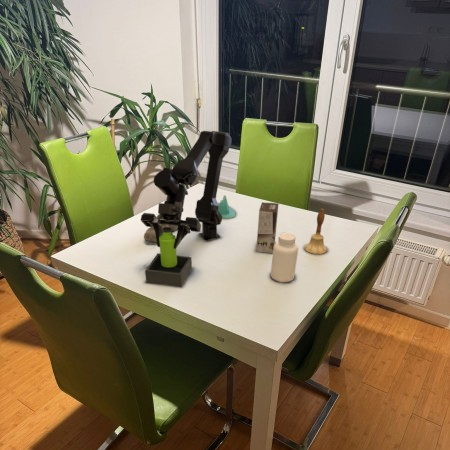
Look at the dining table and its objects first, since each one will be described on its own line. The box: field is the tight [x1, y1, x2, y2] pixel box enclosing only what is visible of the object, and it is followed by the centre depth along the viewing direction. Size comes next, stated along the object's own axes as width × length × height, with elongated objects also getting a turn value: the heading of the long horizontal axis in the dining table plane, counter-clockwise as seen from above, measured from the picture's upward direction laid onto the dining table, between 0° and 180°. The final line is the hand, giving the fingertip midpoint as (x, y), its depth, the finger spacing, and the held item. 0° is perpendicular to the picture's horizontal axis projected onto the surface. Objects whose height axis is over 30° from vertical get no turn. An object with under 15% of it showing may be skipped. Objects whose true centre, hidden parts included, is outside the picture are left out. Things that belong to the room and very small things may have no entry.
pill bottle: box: [270, 232, 299, 283], centre depth 134 cm, size 8×8×15 cm
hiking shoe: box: [143, 214, 178, 243], centre depth 162 cm, size 9×21×12 cm
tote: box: [144, 252, 193, 288], centre depth 137 cm, size 12×12×4 cm
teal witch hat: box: [217, 195, 236, 220], centre depth 183 cm, size 12×20×9 cm, turn 29°
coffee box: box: [255, 201, 279, 254], centre depth 152 cm, size 9×6×16 cm
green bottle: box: [159, 227, 178, 268], centre depth 132 cm, size 5×5×12 cm
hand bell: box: [304, 207, 328, 255], centre depth 151 cm, size 8×8×16 cm
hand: (166, 247), depth 131 cm, fingers closed on green bottle, 5 cm apart
